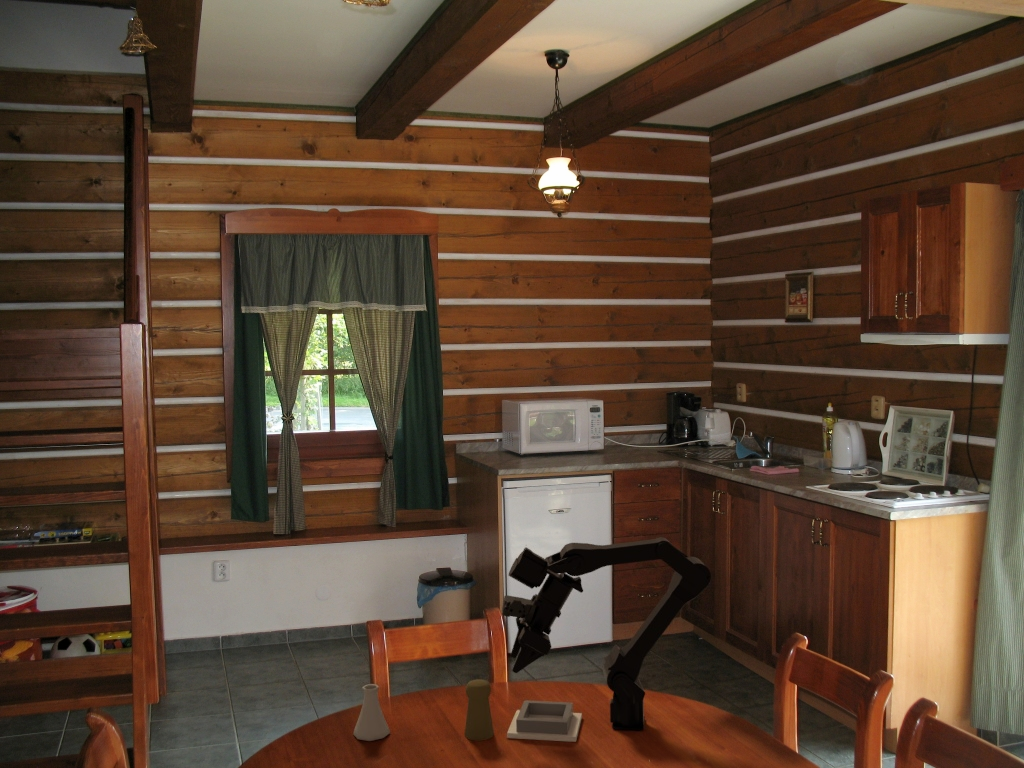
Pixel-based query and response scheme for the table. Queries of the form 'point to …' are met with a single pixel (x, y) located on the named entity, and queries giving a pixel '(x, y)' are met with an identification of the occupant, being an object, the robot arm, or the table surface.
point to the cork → (478, 711)
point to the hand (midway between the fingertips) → (513, 664)
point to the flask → (371, 717)
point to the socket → (545, 721)
